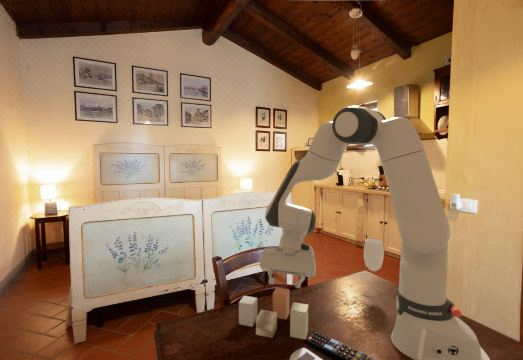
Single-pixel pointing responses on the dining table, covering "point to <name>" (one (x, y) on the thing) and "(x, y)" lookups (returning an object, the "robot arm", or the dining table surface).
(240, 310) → the light grey block
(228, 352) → the dining table surface
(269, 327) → the off-white cube
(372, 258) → the cup
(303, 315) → the sage block
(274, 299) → the terracotta block
